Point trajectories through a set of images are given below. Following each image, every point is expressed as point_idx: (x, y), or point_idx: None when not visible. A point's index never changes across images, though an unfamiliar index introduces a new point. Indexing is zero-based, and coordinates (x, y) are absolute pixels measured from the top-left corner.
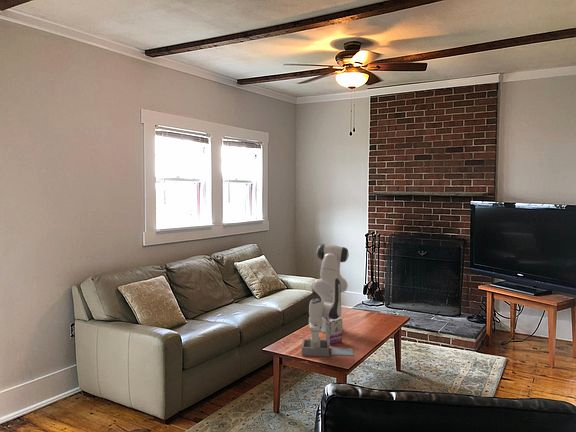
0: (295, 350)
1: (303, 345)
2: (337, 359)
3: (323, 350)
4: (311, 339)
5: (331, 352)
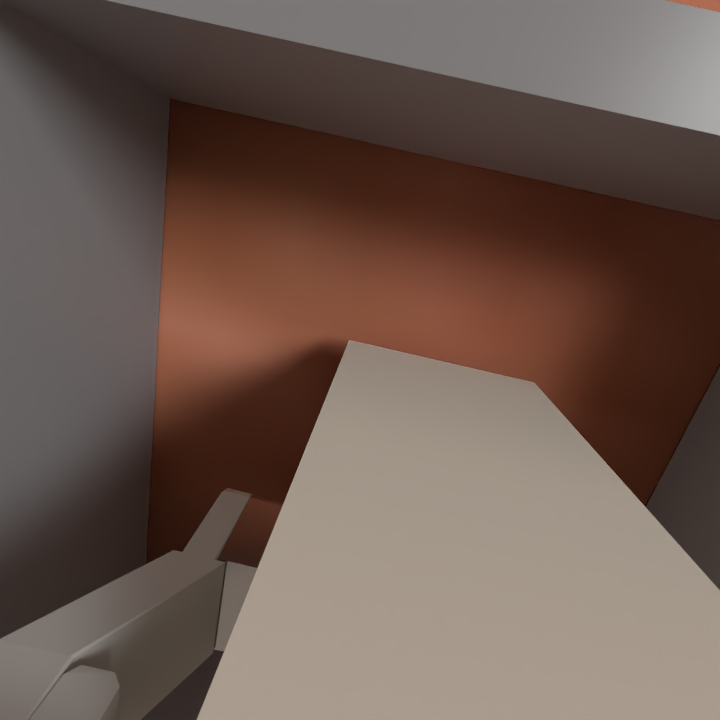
0: None
1: (176, 5)
2: None
3: None
4: (211, 717)
5: None
